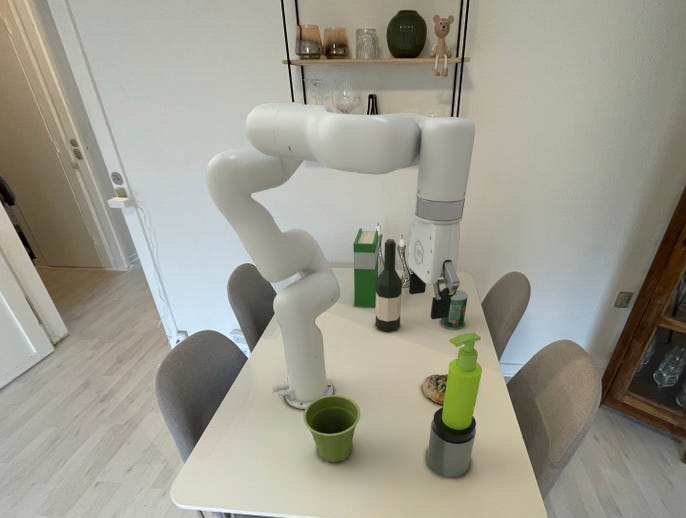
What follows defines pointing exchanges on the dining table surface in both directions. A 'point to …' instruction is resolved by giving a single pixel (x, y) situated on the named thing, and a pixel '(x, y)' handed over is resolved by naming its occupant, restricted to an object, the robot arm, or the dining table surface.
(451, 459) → the grey and black cylinder
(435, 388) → the bread roll
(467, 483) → the dining table surface
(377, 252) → the hardback book
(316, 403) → the plant pot
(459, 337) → the soap dispenser
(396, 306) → the wine bottle
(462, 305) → the canned tomato
